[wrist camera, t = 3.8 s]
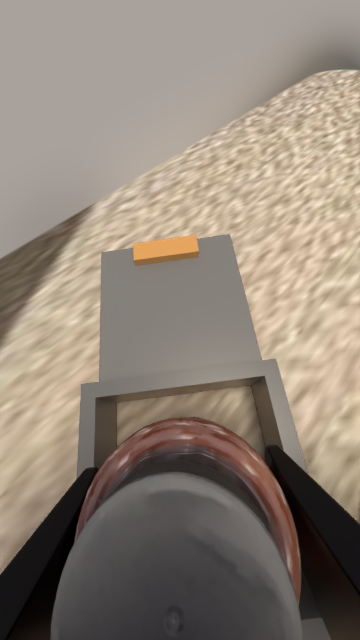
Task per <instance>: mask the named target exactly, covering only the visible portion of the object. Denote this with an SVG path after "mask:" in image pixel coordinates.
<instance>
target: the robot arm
mask: <svg viewBox="0 0 360 640" xmlns="http://www.w3.org/2000/svg"><path fill="white" fill-rule="evenodd" d="M265 463H266V464H267V466H268V467H269V469H270V470H271V472H272V473H273V475H274V476H275V478H276V480H277V482H278V483H279V485H280V487H281V489H282V491H283V493H284V496H285V498H286V500H287V503H288V505H289V508H290V511H291V513H292V517H293V520H294V524H295V527H296V531H297V535H298V543H299V550H300V557H301V568H302V570H303V573H304V575H305V577H306V580H307V582H308V585H309V587H310V590H311V592H312V595H313V597H314V599H315V602H316V604H317V607H318V609H319V612H320V614H321V617H322V619H323V621H324V624H325V626H326V629H327V631H328V634H329V636H330V639H331V640H360V524H359V523H358V522H357V521H356V520H355V519H354V518H353V517H352V516H351V515H350V514H349V513H348V512H347V511H346V510H345V509H344V508H343V507H342V506H340V505H339V504H338V503H337V502H336V501H335V500H334V499H333V498H332V497H331V496H330V495H329V494H328V493H327V492H326V491H325V490H324V489H323V488H322V487H321V486H320V485H319V484H318V483H317V482H316V481H315V480H313V479H312V478H311V477H310V476H309V475H308V474H307V473H306V472H305V471H304V470H303V469H302V468H301V467H300V466H299V465H298V464H297V463H296V462H295V461H294V460H293V459H292V458H291V457H290V456H289V455H287V454H286V453H285V452H284V451H283V450H282V449H281V448H280V447H279V446H278V445H267V446H266V447H265ZM98 471H99V468H98V467H88V468H86V469H85V470H84V471H83V472H82V473H81V474H80V476H79V477H78V478H77V479H76V481H75V482H74V483H73V485H72V486H71V487H70V488H69V490H68V491H67V492H66V493H65V495H64V496H63V497H62V498H61V500H60V501H59V502H58V503H57V505H56V506H55V507H54V508H53V510H52V511H51V512H50V513H49V515H48V516H47V517H46V518H45V520H44V521H43V522H42V523H41V525H40V526H39V527H38V528H37V530H36V531H35V532H34V533H33V535H32V536H31V537H30V538H29V540H28V541H27V542H26V543H25V545H24V546H23V547H22V548H21V550H20V551H19V552H18V553H17V555H16V556H15V557H14V558H13V560H12V561H11V562H10V563H9V565H8V566H7V567H6V568H5V570H4V571H3V572H2V573H1V575H0V640H50V638H51V621H52V614H53V609H54V603H55V599H56V594H57V589H58V585H59V582H60V578H61V574H62V571H63V568H64V566H65V563H66V560H67V558H68V555H69V553H70V550H71V548H72V547H73V545H74V542H75V535H76V529H77V524H78V520H79V517H80V513H81V510H82V506H83V503H84V501H85V498H86V494H87V491H88V488H89V487H90V486H91V483H92V481H93V479H94V476H95V475H96V474H97V473H98Z"/></svg>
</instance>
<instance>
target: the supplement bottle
mask: <svg viewBox="0 0 360 640" xmlns="http://www.w3.org/2000/svg"><path fill="white" fill-rule="evenodd" d="M300 590H301V557H300V550H299V543H298V535H297V531H296V527H295V524H294V520H293V517H292V513H291V511H290V508H289V505H288V503H287V500H286V498H285V496H284V493H283V491H282V489H281V487H280V485H279V483H278V482H277V480H276V478H275V476H274V475H273V473H272V472H271V470H270V469H269V467H268V466H267V464H266V463H265V462H264V460H263V459H262V458H261V456H260V455H259V454H258V453H257V452H256V451H255V450H254V449H253V448H252V447H251V446H250V445H249V444H248V443H247V442H245V441H244V440H243V439H242V438H240V437H239V436H238V435H236V434H235V433H233V432H232V431H230V430H228V429H226V428H225V427H223V426H220V425H218V424H216V423H213V422H211V421H207V420H204V419H199V418H195V417H188V418H173V419H167V420H163V421H159V422H156V423H153V424H151V425H148V426H146V427H143V428H142V429H140V430H139V431H137V432H136V433H134V434H133V435H131V436H130V437H129V438H128V439H126V440H125V441H124V442H123V443H122V444H121V445H119V446H118V447H117V448H116V449H115V450H114V451H113V452H112V453H111V454H110V456H109V457H108V458H107V459H106V460H105V462H104V464H103V465H102V467H101V468H100V469H99V471H98V473H97V474H96V475H95V476H94V479H93V481H92V483H91V486H90V487H89V488H88V491H87V494H86V498H85V501H84V503H83V506H82V510H81V513H80V517H79V520H78V524H77V529H76V535H75V542H74V545H73V547H72V548H71V550H70V553H69V555H68V558H67V560H66V563H65V566H64V568H63V571H62V574H61V578H60V582H59V585H58V589H57V594H56V599H55V603H54V609H53V614H52V621H51V638H50V640H303V630H302V623H301V616H300V610H299V599H300Z"/></svg>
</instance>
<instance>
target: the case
mask: <svg viewBox="0 0 360 640" xmlns="http://www.w3.org/2000/svg"><path fill="white" fill-rule="evenodd" d="M248 385H251V386H252V390H253V395H254V399H255V403H256V408H257V412H258V416H259V421H260V425H261V430H262V434H263V438H264V443H265V447H266V446H267V445H278V446H279V447H280V448H281V449H282V450H283V451H284V452H285V453H286V454H287V455H289V456H290V457H291V458H292V459H293V460H294V461H295V462H296V463H297V464H298V465H299V466H300V467H301V468H302V469H303V470H304V471H305V472H306V473H307V474H308V472H307V468H306V464H305V461H304V457H303V454H302V450H301V447H300V443H299V439H298V436H297V432H296V429H295V425H294V422H293V418H292V414H291V411H290V407H289V404H288V400H287V397H286V393H285V389H284V386H283V382H282V379H281V375H280V372H279V368H278V365H277V361H276V359H270V360H262V358H261V354H260V350H259V346H258V342H257V338H256V334H255V330H254V326H253V323H252V319H251V315H250V311H249V307H248V303H247V299H246V295H245V291H244V287H243V284H242V280H241V276H240V272H239V268H238V264H237V260H236V256H235V252H234V248H233V245H232V241H231V237H230V234H228V235H221V236H214V237H207V238H200V239H197V238H196V235H191V236H184V237H177V238H170V239H163V240H156V241H149V242H142V243H135V244H133V248H130V249H123V250H116V251H109V252H102V257H101V309H100V361H99V382H94V383H86V384H81V402H80V423H79V444H78V465H77V478H78V477H79V476H80V474H81V473H82V472H83V471H84V470H85V469H86V468H88V467H98V468H99V469H100V468H101V467H102V465H103V464H104V462H105V460H106V459H107V458H108V457H109V456H110V454H111V453H112V452H113V451H114V450H115V449H116V448H117V423H116V402H124V401H131V400H139V399H147V398H155V397H163V396H170V395H178V394H186V393H194V392H202V391H209V390H217V389H225V388H233V387H240V386H248ZM299 610H300V616H301V623H302V630H303V640H331V639H330V636H329V634H328V631H327V629H326V626H325V624H324V621H323V619H322V617H321V614H320V612H319V609H318V607H317V604H316V602H315V599H314V597H313V595H312V592H311V590H310V587H309V585H308V582H307V580H306V577H305V575H304V573H303V570H302V568H301V590H300V599H299Z"/></svg>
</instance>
